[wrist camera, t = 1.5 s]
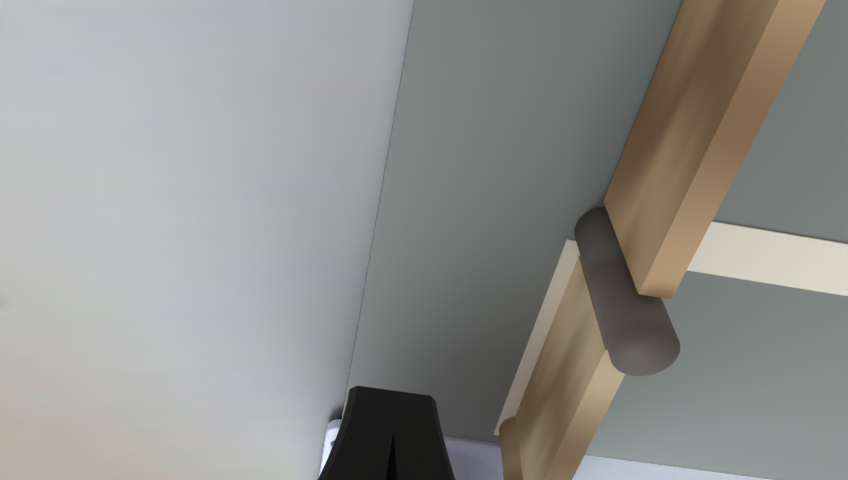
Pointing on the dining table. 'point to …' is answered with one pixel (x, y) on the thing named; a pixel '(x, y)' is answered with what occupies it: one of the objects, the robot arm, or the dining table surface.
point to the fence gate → (699, 128)
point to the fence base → (585, 358)
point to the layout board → (586, 189)
